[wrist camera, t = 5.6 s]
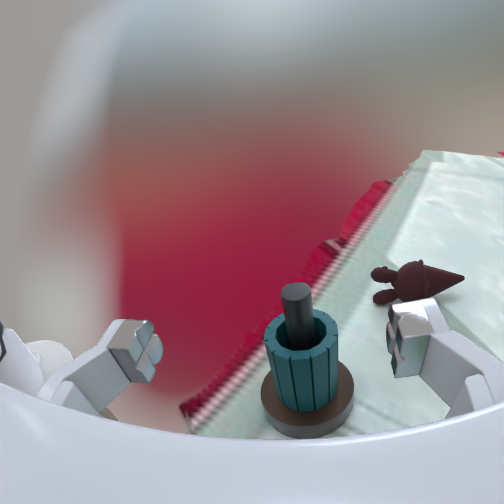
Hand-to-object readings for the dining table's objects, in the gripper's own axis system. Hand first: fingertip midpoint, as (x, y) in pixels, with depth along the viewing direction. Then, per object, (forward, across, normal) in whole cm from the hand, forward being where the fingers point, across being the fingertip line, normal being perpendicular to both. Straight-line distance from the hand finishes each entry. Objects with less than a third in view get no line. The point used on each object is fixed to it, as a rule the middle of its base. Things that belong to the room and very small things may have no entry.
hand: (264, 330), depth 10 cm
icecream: (+28, -17, +24) cm, 41 cm away
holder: (+12, 0, +24) cm, 26 cm away
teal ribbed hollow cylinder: (+12, 0, +20) cm, 24 cm away
